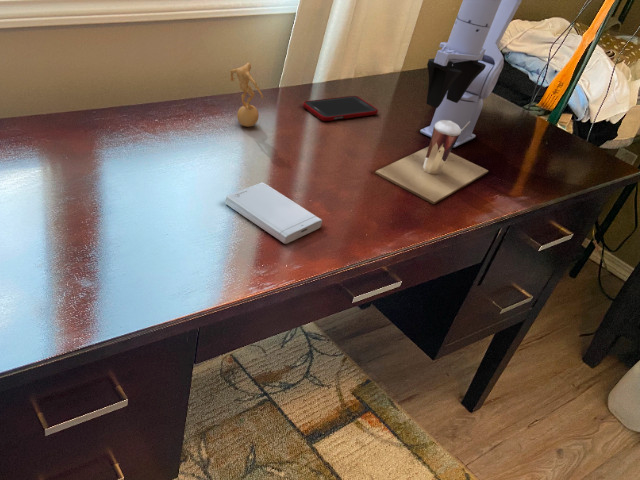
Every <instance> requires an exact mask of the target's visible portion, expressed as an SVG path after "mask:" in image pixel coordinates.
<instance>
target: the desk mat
mask: <svg viewBox="0 0 640 480" xmlns="http://www.w3.org/2000/svg"><path fill="white" fill-rule="evenodd" d="M428 148H429V146H426V147H424V148H422V149H420V150H418V151H416V152H414V153H411V154H409V155H407V156H405V157H403V158H401V159H398V160H396V161H393V162H392V163H390V164H388V165H386V166H383V167H381V168H379V169H376V171H375V173H374V174H375V175H377V176H379V177H381V178H383V179H385V180H386V181H389V182H391V183H392V184H395V185H396V186H398V187H400V188H401V189H404V190H406V191H407V192H409V193H411V194H413V195H415V196H416V197H419V198H421V199H422V200H424V201H427V202H428V203H430V204H432V205H435V204H437V203H439V202H440V201H442V200H444V199H446V198H447V197H449V196H450V195H452V194H454V193H456V192H458V191H459V190H461V189H463V188H465V187H467V186H468V185H470V184H471V183H473V182H475V181H476V180H478V179H480V178H481V177H483V176H485V175H486V174H488V173H489V170H488V169H486V168H484V167H482V166H480V165H478V164H475V163H473V162H471V161H469V160H467V159H465V158H463V157H462V156H459V155H457V154H455V153H453V152H450V154H449V156H448V158H447V160H446V163H445V165H444V167H443V169H442V171H441V172H440V174H436V175H434V174H430V173H428V172H426V171H425V170H424V169H423V165H424V162H425V158H426V155H427V152H428Z"/></svg>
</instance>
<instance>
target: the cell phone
mask: <svg viewBox="0 0 640 480" xmlns="http://www.w3.org/2000/svg"><path fill="white" fill-rule="evenodd" d="M302 107H303V108H304V109H305V110H307V111H308V112H309V113H311V114H312V115H313V116H315V117H317V118H318V119H319V120H321V121H323V122H330V121H334V120H336V121H337V120H343V119H344V120H345V119H352V118H359V117H367V116H373V115H377V114H378V112H379V109H378V108H377V107H375V106H374V105H372V104H371V103H369V102H367V101H366V100H364V99H363V98H361V97H360V96H358V95H348V96H340V97H331V98H322V99H314V100H313V99H312V100H305V101H303V105H302Z"/></svg>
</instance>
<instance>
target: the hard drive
mask: <svg viewBox="0 0 640 480" xmlns="http://www.w3.org/2000/svg"><path fill="white" fill-rule="evenodd" d="M224 201H225V202H224V203H225V205H227V206H228V207H229V208H231V209H233V210H234V211H236V212H237V213H238V214H239V215H241V216H242V217H244V218H246V219H247V220H248V221H250V222H252V223H253V224H254V225H256V226H258V227H259V228H261V229H262V230H263V231H265V232H267V233H268V234H270V235H271V236H272V237H274V238H275V239H277V240H278V241H279V242H281V243H283V244H285V245H287V244H289V243H291V242H293V241H296V240H298V239H299V238H302V237H303V236H305V235H308V234H311V233H312V232H315V231H316V230H319V229H320V228H321V227H322V226H323V225H322V224H323V219H322V218H320V217H318V216H317V215H315V214H313V213H312V212H311V211H309V210H307V209H306V208H304V207H303V206H302V205H299V204H298V203H297V202H295V201H293V200H292V199H290V198H288V197H286V195H284V194H282V193H281V192H280V191H278V190H276V189H274V188H273V187H271V186H270V185H268V184H267V183H265V182H263V181H262V182H259V183H257V184H254V185H251V186H248V187H246V188H243V189H240V190H238V191H236V192H233V193H230V194H228V195H227V196H226V197H225V200H224Z"/></svg>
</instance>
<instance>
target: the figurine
mask: <svg viewBox="0 0 640 480" xmlns="http://www.w3.org/2000/svg"><path fill="white" fill-rule="evenodd" d="M251 69H252V63H250V62H247V63H245V64H244V65H242V66H240V67H237V68H233V69H230V81H231V83H232V82H235V78H234V74H236V76H237V79H238V81H239V83H238V86H239V88H240V90H241V91H242V92H243V93H242V94H241V96H240V97H241V102H242V106H241V107H239V109H238V110H237V113H236V117H237V121H238V123H239V124H240V125H241V126H243V127H246V128H251V127H253V126H255V125H256V124H257V123H258V121H259V117H260V115H259V111H258V108H256V106H254V105H252V104H251V103H250V102H251V101H252V100H253V98H254V97H255V95H256V94H255V92H254V91H253V89H252V86H251V85H249V82H251V83H252V85H253V86H254V87H255V89H256V91H257V92H258V93H259V95H260V97H261V99H264V95H263V93H262V90H261V89H260V87H259V86H258V84H257V82H256V81H255V79H254V78H253V77H252V75H251V72H250V71H251ZM247 94H248V95H249V96H248V98H247V99H246V101H245V98H246V96H247Z"/></svg>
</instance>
